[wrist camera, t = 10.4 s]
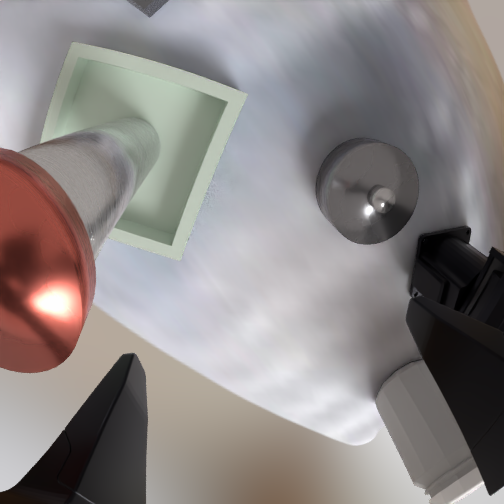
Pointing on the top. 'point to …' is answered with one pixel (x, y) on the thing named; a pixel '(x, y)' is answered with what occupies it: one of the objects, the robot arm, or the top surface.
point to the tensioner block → (148, 5)
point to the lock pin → (62, 233)
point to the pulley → (367, 190)
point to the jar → (427, 435)
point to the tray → (165, 123)
